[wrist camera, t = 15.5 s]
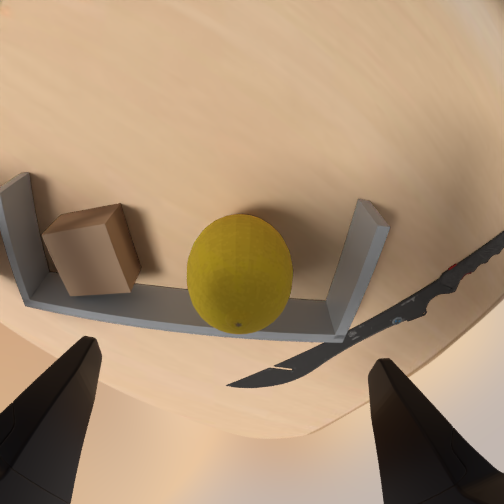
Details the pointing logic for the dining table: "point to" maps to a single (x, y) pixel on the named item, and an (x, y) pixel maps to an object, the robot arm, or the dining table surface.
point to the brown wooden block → (93, 251)
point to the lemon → (239, 274)
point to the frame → (178, 300)
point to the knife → (374, 322)
